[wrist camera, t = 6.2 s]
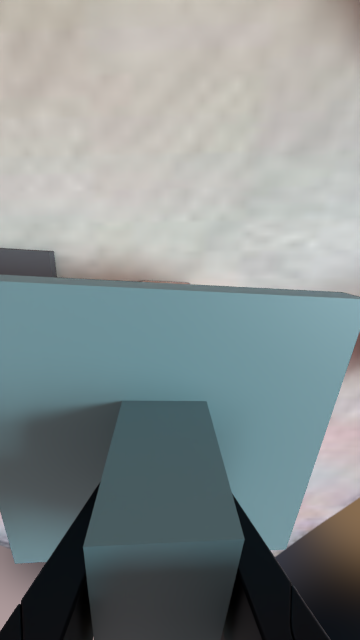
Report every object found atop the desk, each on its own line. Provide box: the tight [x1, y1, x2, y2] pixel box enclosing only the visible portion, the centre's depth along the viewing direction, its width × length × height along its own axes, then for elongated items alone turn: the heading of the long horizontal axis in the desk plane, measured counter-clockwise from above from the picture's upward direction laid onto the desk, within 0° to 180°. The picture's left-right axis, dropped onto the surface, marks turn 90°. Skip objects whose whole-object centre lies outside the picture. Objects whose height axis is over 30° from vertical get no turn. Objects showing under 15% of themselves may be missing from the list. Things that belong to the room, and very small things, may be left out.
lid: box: [0, 275, 360, 640], centre depth 7 cm, size 13×13×5 cm
